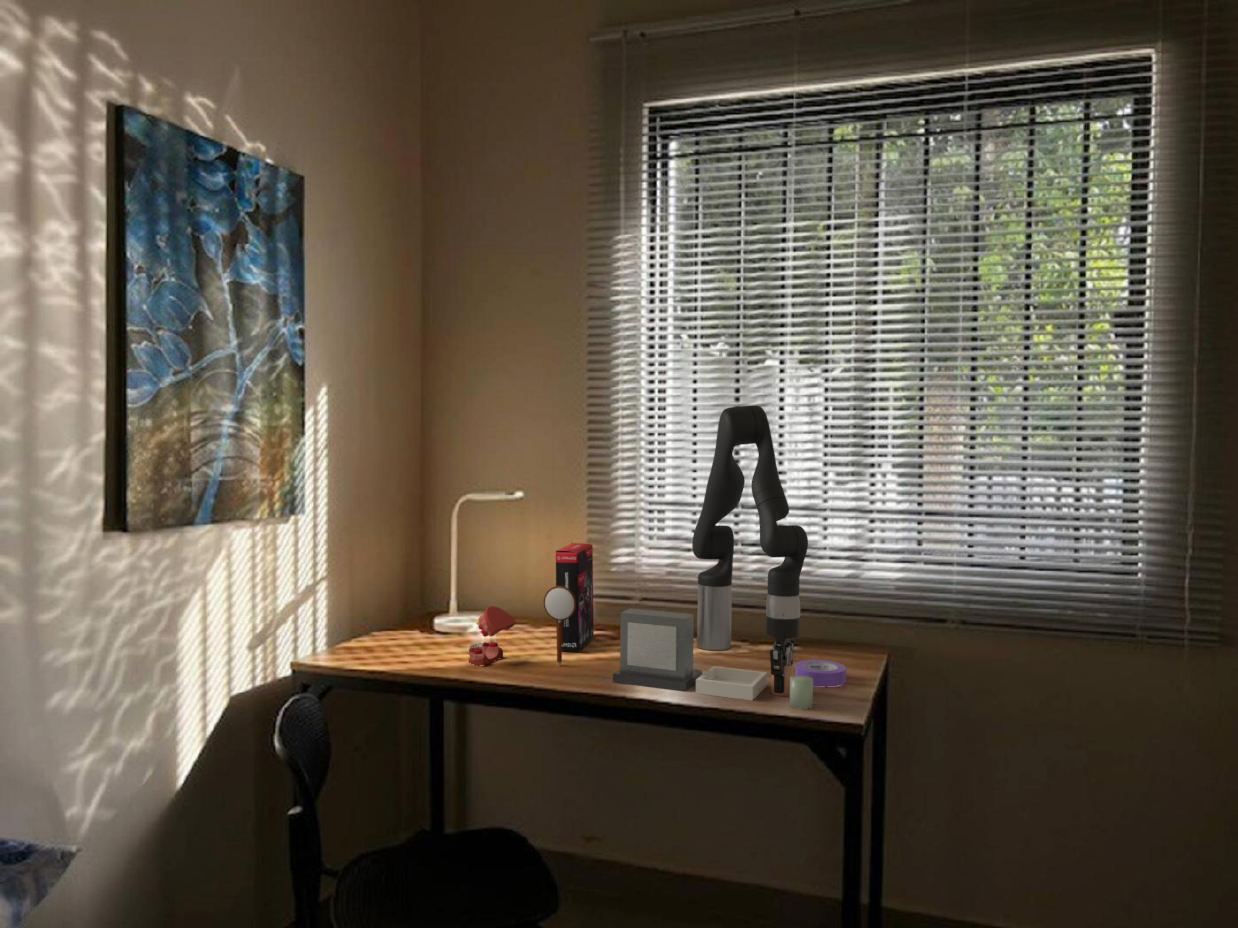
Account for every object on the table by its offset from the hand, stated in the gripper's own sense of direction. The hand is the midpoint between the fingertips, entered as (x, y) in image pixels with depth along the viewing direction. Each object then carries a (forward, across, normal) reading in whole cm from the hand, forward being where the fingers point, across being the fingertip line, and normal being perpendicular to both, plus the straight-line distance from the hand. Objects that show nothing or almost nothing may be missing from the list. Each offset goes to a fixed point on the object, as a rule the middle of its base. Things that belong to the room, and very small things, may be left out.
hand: (781, 689), depth 202 cm
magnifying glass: (+1, 0, +56) cm, 56 cm away
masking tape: (+1, +14, -6) cm, 15 cm away
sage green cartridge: (+1, -8, -6) cm, 10 cm away
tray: (+1, -2, +11) cm, 11 cm away
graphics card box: (+1, +21, +62) cm, 65 cm away
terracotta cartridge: (+1, 0, 0) cm, 1 cm away
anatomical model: (+1, -4, +74) cm, 74 cm away
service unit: (+1, -2, +29) cm, 29 cm away
